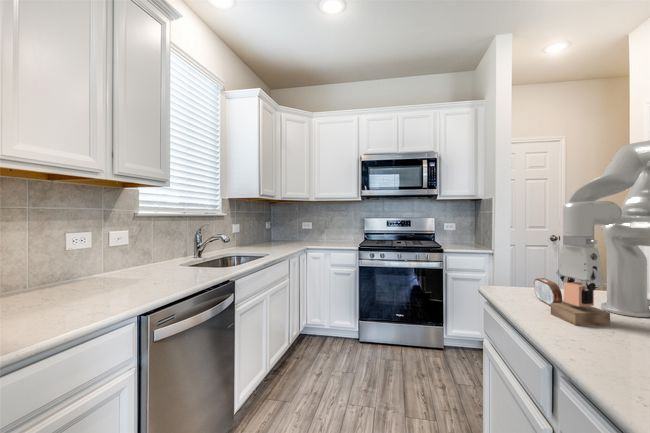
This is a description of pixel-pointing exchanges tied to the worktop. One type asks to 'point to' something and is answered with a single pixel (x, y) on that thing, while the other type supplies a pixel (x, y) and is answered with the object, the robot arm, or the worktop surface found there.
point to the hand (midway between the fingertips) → (578, 300)
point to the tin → (547, 291)
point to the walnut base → (580, 314)
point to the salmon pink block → (574, 294)
